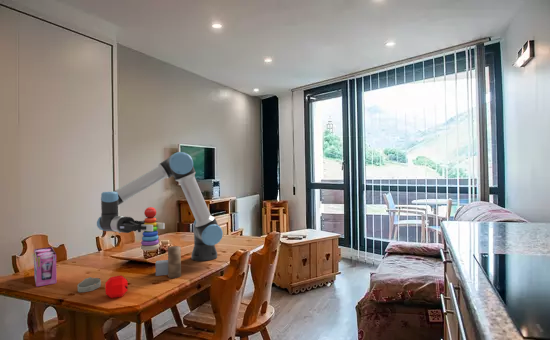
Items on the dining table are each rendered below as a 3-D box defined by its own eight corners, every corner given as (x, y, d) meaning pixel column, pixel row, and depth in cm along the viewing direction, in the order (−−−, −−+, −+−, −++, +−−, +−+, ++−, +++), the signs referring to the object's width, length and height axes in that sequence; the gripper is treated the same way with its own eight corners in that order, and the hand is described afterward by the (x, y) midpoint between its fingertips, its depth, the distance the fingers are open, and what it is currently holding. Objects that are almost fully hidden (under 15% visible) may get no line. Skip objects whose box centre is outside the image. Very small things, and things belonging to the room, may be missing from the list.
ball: (128, 297, 132) (128, 278, 132) (106, 301, 128) (105, 281, 128) (126, 291, 139) (126, 273, 139) (105, 294, 135) (105, 276, 135)
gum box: (57, 284, 150) (57, 254, 150) (36, 288, 145) (36, 257, 145) (52, 272, 169) (52, 246, 169) (33, 275, 164) (33, 248, 164)
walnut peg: (180, 273, 162) (180, 245, 162) (181, 277, 156) (181, 248, 156) (168, 275, 160) (167, 246, 160) (168, 278, 154) (167, 249, 154)
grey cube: (168, 271, 167) (168, 259, 167) (168, 274, 161) (168, 262, 161) (156, 272, 165) (156, 260, 165) (155, 276, 159) (155, 263, 159)
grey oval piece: (99, 285, 147) (98, 274, 147) (103, 288, 142) (102, 277, 142) (75, 290, 141) (75, 279, 141) (79, 294, 136) (79, 282, 136)
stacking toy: (153, 251, 142) (152, 208, 142) (137, 250, 143) (136, 208, 143) (163, 246, 149) (162, 206, 149) (147, 246, 151) (146, 206, 151)
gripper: (139, 229, 163) (174, 232, 153) (105, 235, 146) (141, 239, 136) (139, 214, 163) (173, 216, 153) (105, 219, 146) (140, 221, 136)
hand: (158, 227), depth 144 cm, fingers closed on stacking toy, 6 cm apart
